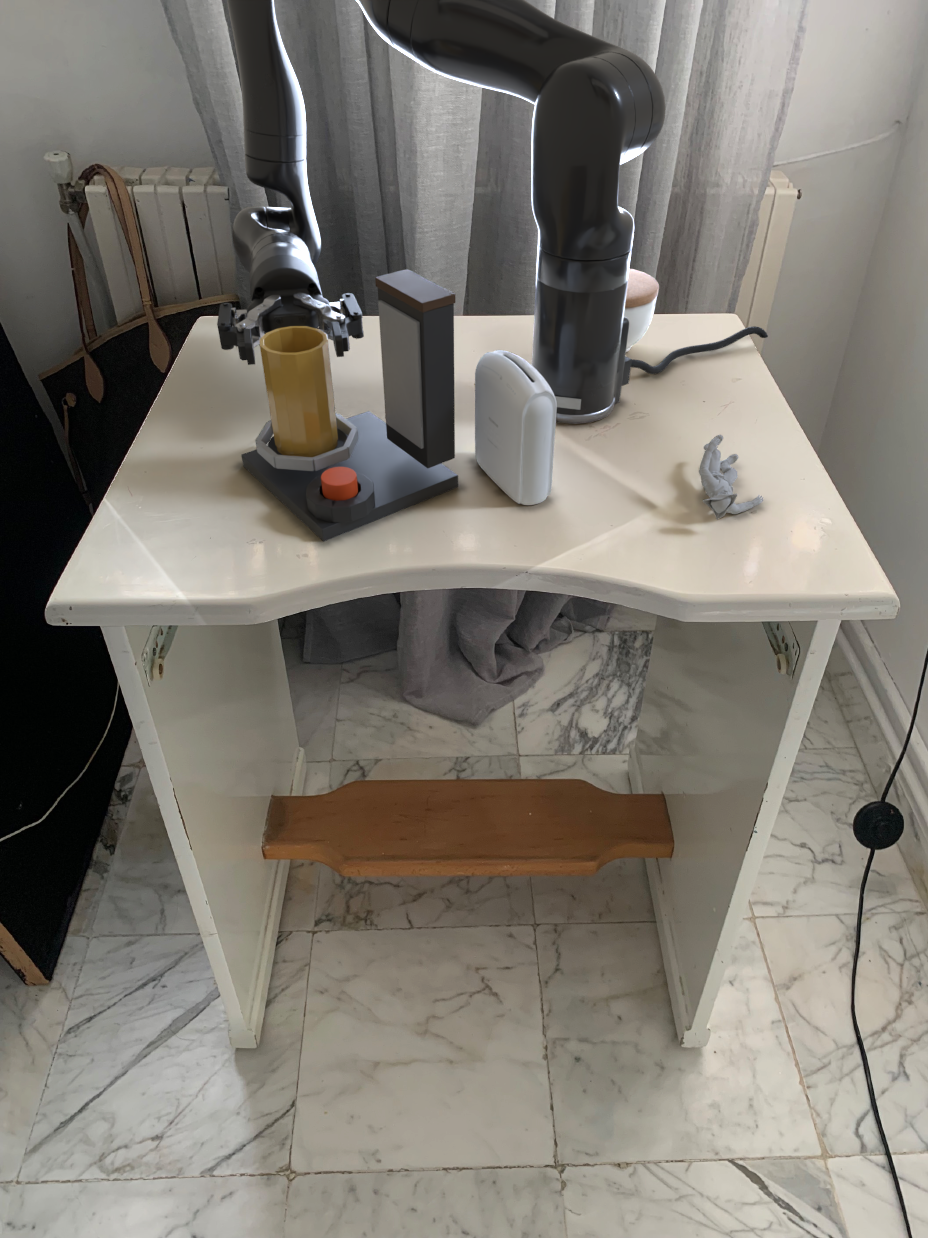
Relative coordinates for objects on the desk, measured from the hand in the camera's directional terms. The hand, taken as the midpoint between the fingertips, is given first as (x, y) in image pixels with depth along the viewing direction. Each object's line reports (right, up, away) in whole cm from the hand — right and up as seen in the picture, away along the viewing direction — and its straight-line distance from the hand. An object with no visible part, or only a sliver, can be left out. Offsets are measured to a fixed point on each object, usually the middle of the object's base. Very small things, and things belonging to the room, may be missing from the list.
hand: (295, 351), depth 86 cm
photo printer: (+21, -12, +2) cm, 24 cm away
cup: (+1, -9, +1) cm, 9 cm away
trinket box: (+34, +8, +26) cm, 43 cm away
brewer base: (+5, -12, +3) cm, 13 cm away
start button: (+5, -14, -4) cm, 16 cm away
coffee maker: (+5, -9, +1) cm, 11 cm away
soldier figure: (+40, -14, 0) cm, 43 cm away
